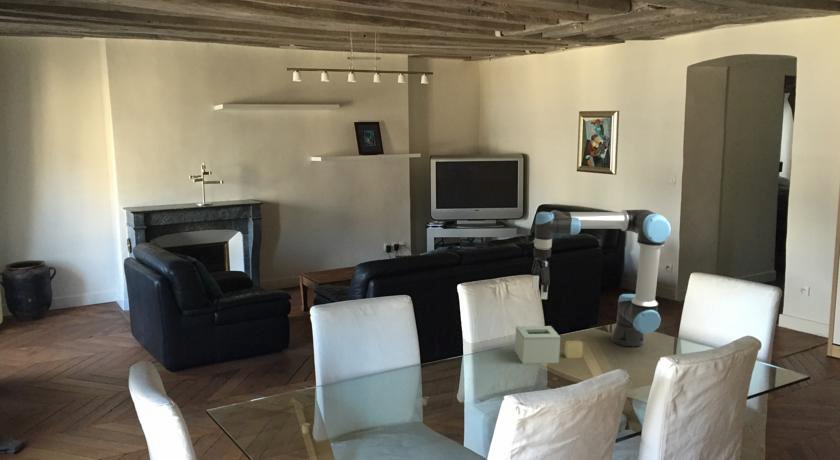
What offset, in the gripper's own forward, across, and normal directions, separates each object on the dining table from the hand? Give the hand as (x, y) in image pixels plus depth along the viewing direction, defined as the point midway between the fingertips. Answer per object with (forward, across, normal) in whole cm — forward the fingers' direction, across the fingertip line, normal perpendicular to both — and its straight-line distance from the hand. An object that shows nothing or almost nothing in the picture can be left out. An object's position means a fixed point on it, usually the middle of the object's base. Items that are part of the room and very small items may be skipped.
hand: (539, 294), depth 318 cm
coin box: (+28, +5, -1) cm, 28 cm away
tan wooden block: (+28, +5, +16) cm, 32 cm away
